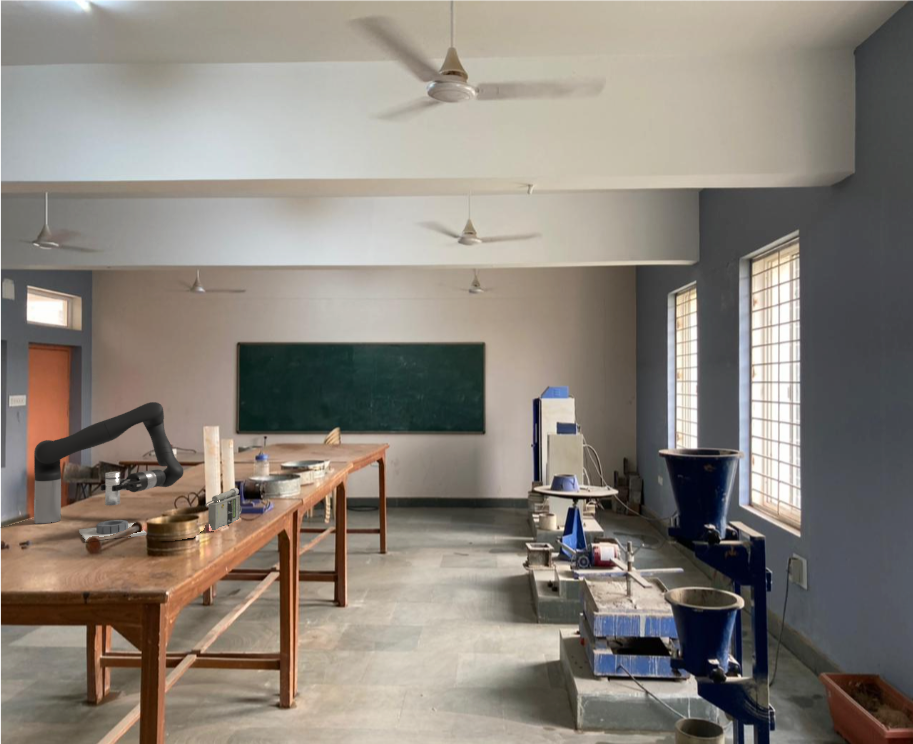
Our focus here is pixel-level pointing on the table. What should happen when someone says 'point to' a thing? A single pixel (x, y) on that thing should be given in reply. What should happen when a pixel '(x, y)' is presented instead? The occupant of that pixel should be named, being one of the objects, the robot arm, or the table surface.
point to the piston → (110, 495)
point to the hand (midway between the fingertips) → (107, 488)
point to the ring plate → (93, 532)
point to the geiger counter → (224, 509)
